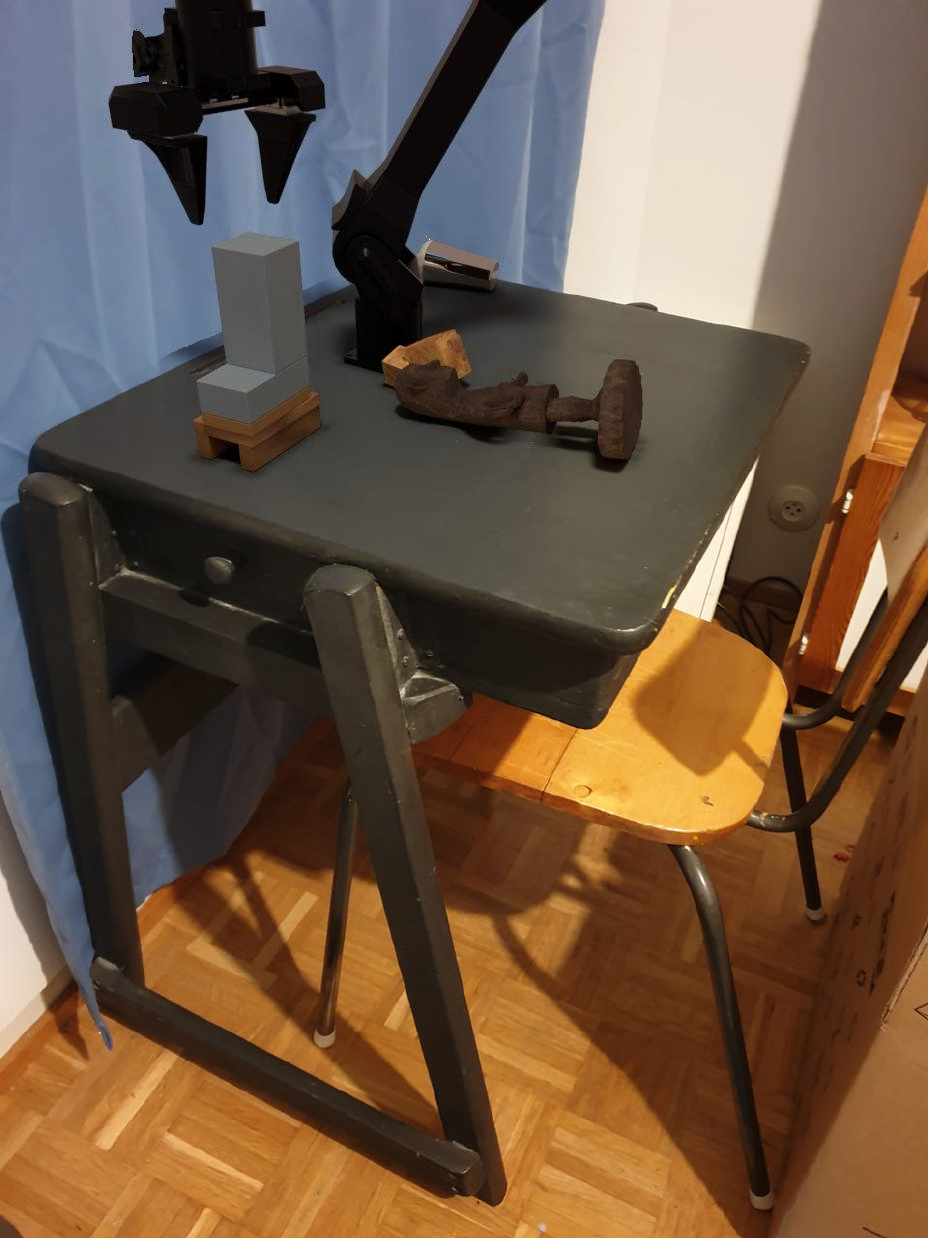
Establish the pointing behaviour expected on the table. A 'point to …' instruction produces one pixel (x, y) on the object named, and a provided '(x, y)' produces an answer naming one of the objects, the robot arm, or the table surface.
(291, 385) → the grey stepped block
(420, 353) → the pyrite
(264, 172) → the robot arm
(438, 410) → the figurine
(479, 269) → the milkshake
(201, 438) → the wooden footstool
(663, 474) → the table surface
